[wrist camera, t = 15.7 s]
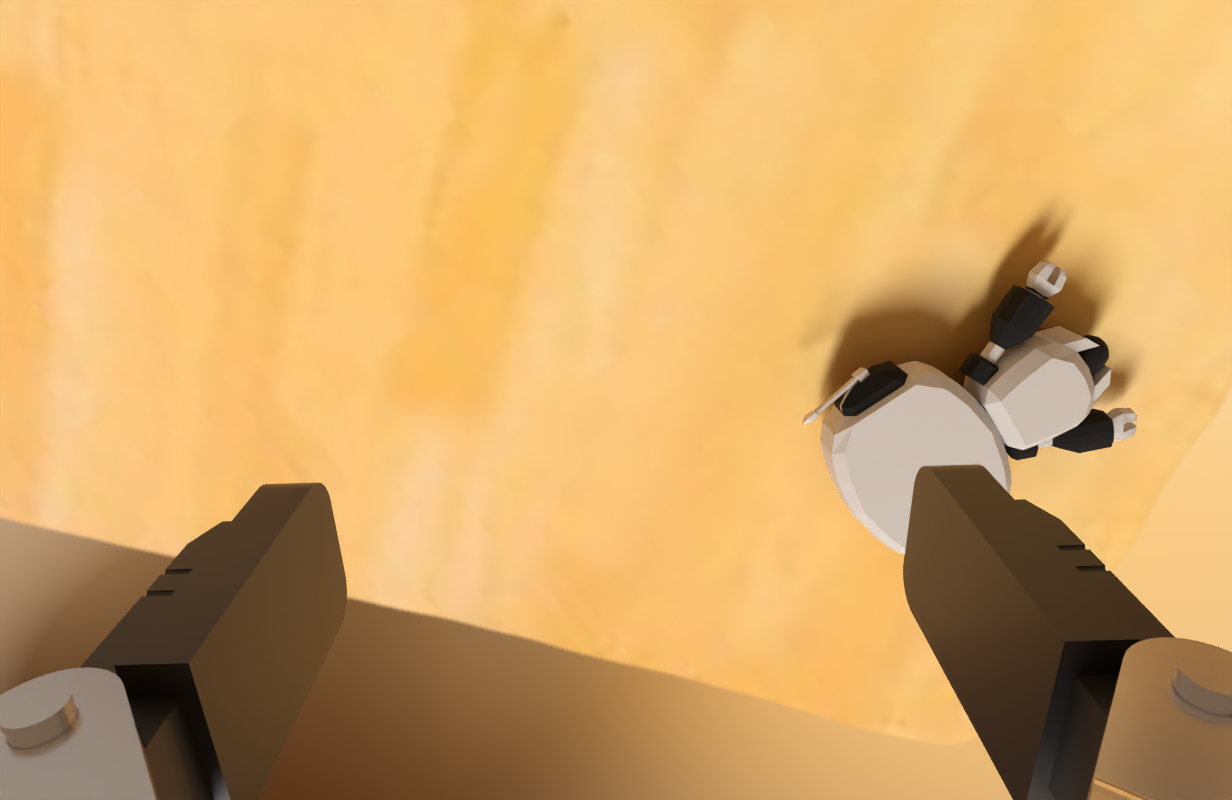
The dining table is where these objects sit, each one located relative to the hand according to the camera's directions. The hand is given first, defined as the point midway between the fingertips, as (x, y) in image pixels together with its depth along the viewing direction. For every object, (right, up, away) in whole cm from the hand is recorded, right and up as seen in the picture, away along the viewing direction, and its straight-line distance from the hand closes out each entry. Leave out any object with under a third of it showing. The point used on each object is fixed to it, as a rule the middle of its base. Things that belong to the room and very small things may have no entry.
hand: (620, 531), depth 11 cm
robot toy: (+18, +2, +33) cm, 37 cm away
